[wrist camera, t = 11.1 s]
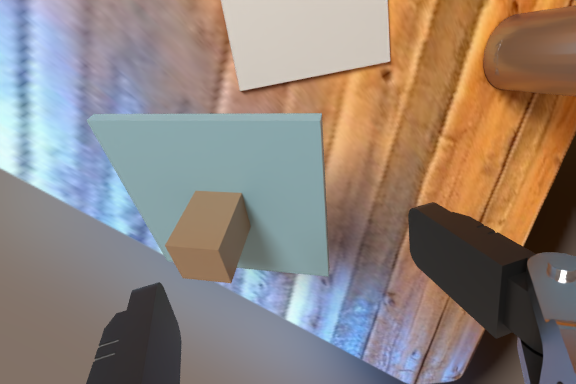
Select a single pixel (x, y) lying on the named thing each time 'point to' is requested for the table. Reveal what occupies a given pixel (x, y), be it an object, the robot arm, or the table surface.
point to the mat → (304, 38)
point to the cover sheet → (225, 188)
